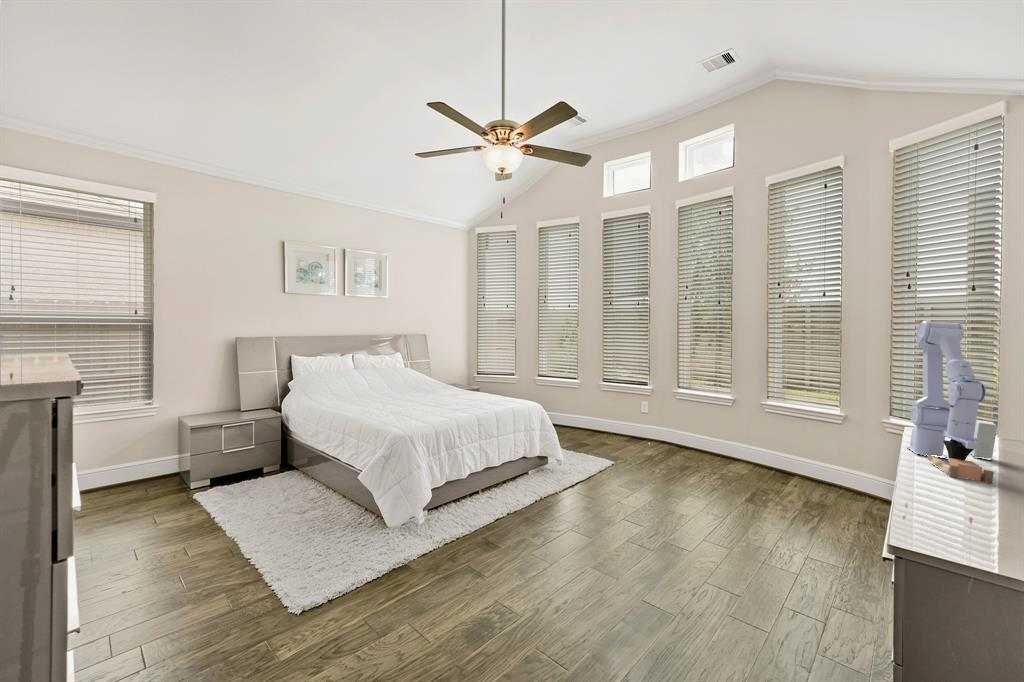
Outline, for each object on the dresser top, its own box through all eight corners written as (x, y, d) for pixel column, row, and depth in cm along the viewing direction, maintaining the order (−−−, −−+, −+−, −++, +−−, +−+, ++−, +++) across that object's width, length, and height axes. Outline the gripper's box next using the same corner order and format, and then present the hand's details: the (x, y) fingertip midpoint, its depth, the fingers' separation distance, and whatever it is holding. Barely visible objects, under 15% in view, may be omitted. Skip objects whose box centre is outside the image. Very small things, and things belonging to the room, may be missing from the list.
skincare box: (992, 461, 143) (997, 425, 142) (973, 458, 146) (978, 422, 145) (987, 457, 148) (992, 421, 147) (969, 453, 151) (974, 419, 150)
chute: (927, 461, 139) (928, 451, 139) (964, 466, 136) (965, 456, 136) (950, 476, 126) (951, 465, 126) (992, 483, 122) (993, 472, 122)
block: (947, 471, 131) (949, 457, 131) (970, 474, 129) (972, 461, 129) (956, 477, 126) (958, 463, 126) (980, 481, 124) (982, 467, 124)
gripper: (994, 429, 123) (987, 477, 124) (967, 418, 136) (961, 461, 137) (960, 425, 126) (953, 471, 127) (937, 415, 139) (931, 457, 140)
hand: (955, 466), depth 132 cm, fingers closed
